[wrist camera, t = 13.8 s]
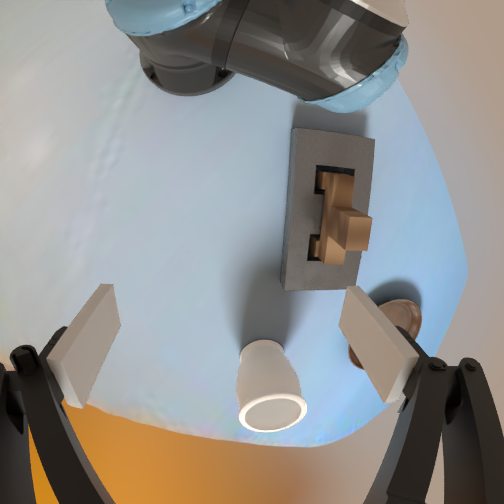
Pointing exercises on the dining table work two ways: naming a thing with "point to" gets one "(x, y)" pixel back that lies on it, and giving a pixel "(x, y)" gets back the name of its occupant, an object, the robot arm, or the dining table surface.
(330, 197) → the brown wooden branched block
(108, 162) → the dining table surface
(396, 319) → the plant saucer
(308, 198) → the grey slotted base block
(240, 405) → the jar
